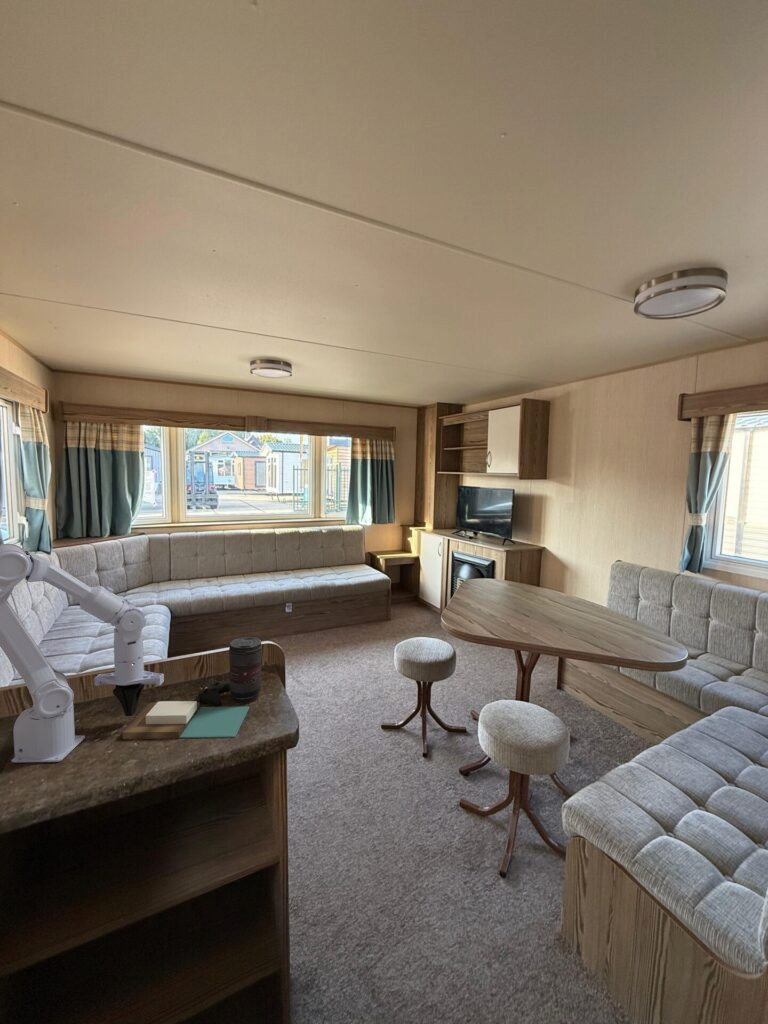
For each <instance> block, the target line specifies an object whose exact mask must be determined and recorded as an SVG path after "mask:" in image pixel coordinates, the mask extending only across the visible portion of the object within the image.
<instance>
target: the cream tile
mask: <svg viewBox="0 0 768 1024" xmlns="http://www.w3.org/2000/svg"><path fill="white" fill-rule="evenodd" d="M197 702H198V701H197V700H188V701H187V700H184V701H183V700H174V701H173V700H172V701H171V700H169V701H168V700H166V701H165V700H163V701H162V700H161V701H157V702H156V703H157V704H156V705H155V706H154V707H153V708H152V709H151V710H150V711H149V713H148V714H147V715H146V724H187V722H188V721H189V720H190V718H191V717H192V715H193V714H194V713H195V711H196V710H197Z"/></svg>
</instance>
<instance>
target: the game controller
mask: <svg viewBox="0 0 768 1024" xmlns="http://www.w3.org/2000/svg"><path fill="white" fill-rule="evenodd" d="M229 685H230V681H213V682H209V683H207V684H205V685H204V687H203V689H202V690H201V691H199V693H198V699H199V701H198V702H200V703H201V704H205V703H206V704H208V705H210V706H211V707H222V705H223V699H222V698H221V696H220V694H219V693H220V692H227V691H226V690H230V686H229Z"/></svg>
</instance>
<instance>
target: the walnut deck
mask: <svg viewBox="0 0 768 1024" xmlns="http://www.w3.org/2000/svg"><path fill="white" fill-rule="evenodd" d="M156 704H157V702H149V703H148V704H147V705H146V706H145V708H144V709H143V710H142V711H141V712H140V713H139V714H138V715H137V716H136V717H135V718H134V719H133V720H132V721H131V722H130V724H129V725H128V726H127V727H126V728H124V730H123V731H122V733H121V734H122V739H123V740H134V739H136V740H137V739H138V740H142V739H143V740H144V739H147V740H148V739H156V740H157V739H180V736H181V734H182V733H183V731H184V730H185V729H186V727H187V726H188V724H189V723H190V721H191V720H192V718H193V717H194V716H195V714H196V713H197V711H198V710H199V708H200V707H201V706H200V705H201V704H200V702H199V701H197V710H196V711H195V713H194V714H193V715H192V717H191V718H190V720H189V721H188V722H187V724H146V715H147V714H148V713H149V711H150V710H151V709H152V708H153V707H154V706H155V705H156Z"/></svg>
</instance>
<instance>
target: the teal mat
mask: <svg viewBox="0 0 768 1024" xmlns="http://www.w3.org/2000/svg"><path fill="white" fill-rule="evenodd" d="M249 709H250V706H218V707H216V706H200V708H199V710H198V711H197V713H196V714H195V716H194V717H193V718H192V720H191V721H190V723H189V724H188V726H187V727H186V729H185V730H184V731H183V733H182V734H181V736H180V737H179V739H206V738H207V739H216V738H217V739H223V738H226V739H231V738H232V739H233V738H236V737H237V735H238V732H239V730H240V728H241V726H242V724H243V722H244V721H245V718H246V716H247V714H248V712H249Z"/></svg>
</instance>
